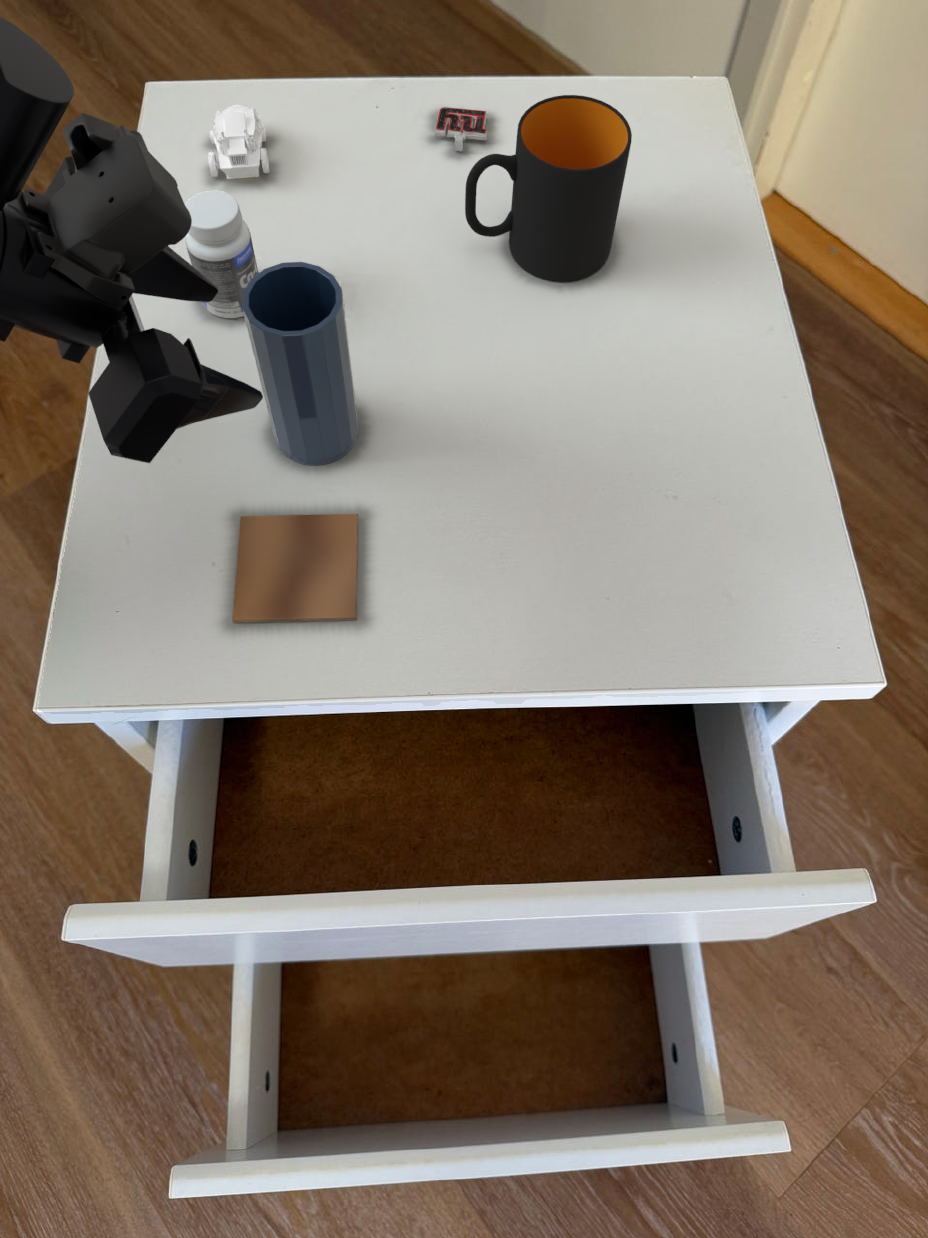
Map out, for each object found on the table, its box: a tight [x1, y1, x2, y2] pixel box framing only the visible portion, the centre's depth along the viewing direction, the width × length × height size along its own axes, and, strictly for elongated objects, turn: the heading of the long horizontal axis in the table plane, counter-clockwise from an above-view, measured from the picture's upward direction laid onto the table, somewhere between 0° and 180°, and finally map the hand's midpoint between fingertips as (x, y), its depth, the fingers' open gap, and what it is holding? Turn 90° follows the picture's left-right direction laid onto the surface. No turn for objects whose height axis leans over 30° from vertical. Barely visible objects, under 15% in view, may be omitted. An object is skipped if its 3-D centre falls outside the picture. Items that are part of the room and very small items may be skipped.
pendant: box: [434, 106, 488, 152], centre depth 85 cm, size 4×1×5 cm
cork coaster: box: [231, 513, 359, 624], centre depth 65 cm, size 8×8×1 cm
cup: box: [242, 261, 359, 466], centre depth 65 cm, size 6×6×13 cm
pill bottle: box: [184, 189, 260, 319], centre depth 73 cm, size 5×5×8 cm
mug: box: [464, 94, 633, 283], centre depth 75 cm, size 8×12×10 cm
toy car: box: [207, 104, 270, 180], centre depth 82 cm, size 5×8×4 cm, turn 8°
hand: (235, 345), depth 61 cm, fingers open, 9 cm apart
